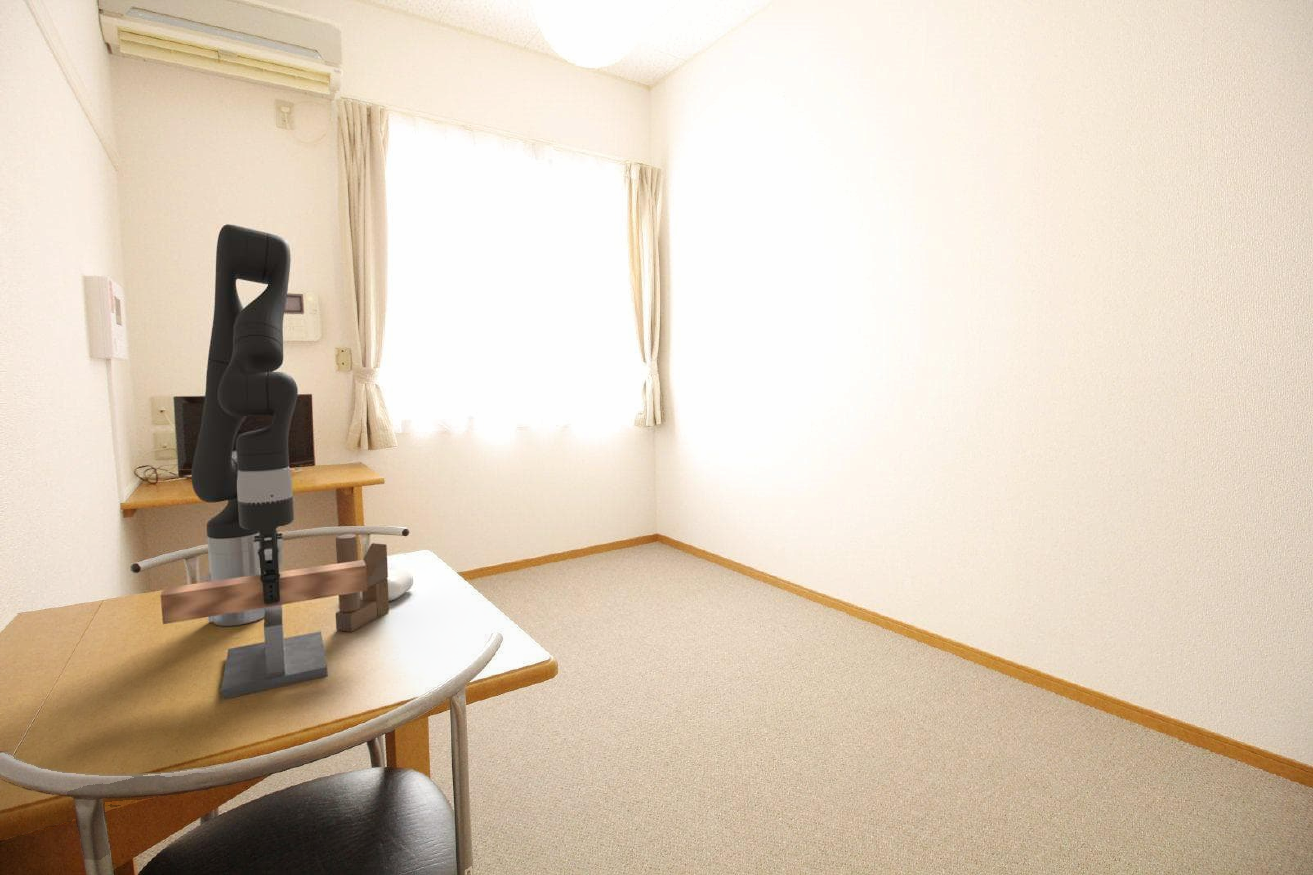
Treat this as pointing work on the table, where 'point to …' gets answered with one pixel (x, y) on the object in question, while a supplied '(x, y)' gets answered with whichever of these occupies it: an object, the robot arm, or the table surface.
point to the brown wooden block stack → (377, 585)
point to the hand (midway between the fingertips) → (272, 598)
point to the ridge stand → (273, 659)
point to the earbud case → (397, 583)
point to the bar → (260, 591)
